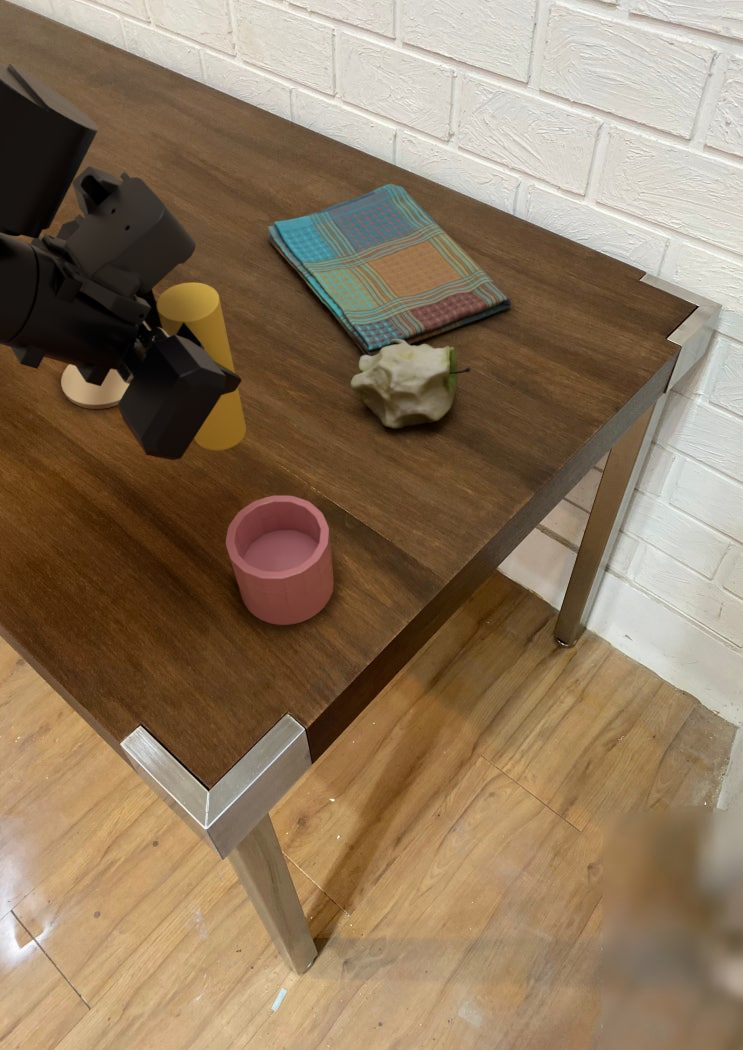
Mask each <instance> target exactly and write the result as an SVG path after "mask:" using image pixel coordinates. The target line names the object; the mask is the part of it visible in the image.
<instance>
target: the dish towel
mask: <svg viewBox="0 0 743 1050" xmlns="http://www.w3.org/2000/svg"><path fill="white" fill-rule="evenodd" d="M267 230H268V232H267V233H266V236H267V239H268V242H270V243H271V245H272V246H273V247H274V248H275V249H276V251H277V252H278V253H279V254H280V255H281V256H282V257H283V258H284V259H285V261H287V263H288V264H289V265H290V266H291V268H293V269H294V270H295V271H296V272H297V273H298V275H299V276H300V277H301V278H302V279H303V280H304V282H305V283H306V285H307V286H308V287H309V288H310V289H311V290H312V292H313V293H314V294H315V295H316V296H317V298H318V299H319V300H320V301H321V303H322V304H324V305H325V306H326V308H327V309H328V311H330V312H331V313H332V315H333V317H335V319H336V320H337V321H338V323H339V324H340V326H341V327H342V328H343V329H344V330H345V332H346V333H347V334H348V336H349V337H350V338H351V339H352V341H353V342H354V343H355V345H356V346H357V347H358V348H359V350H361V352H362V353H363V355H369V356H375V355H377V354H378V353H379V352H380V350H381V349H382V348H383V347H386V346H390V345H397V344H398V343H396V342H392V341H391V340H393V339H401V340H404V341H405V342H406V343H407V344H408V345H410V346H411V345H412V344H415V343H417V342H421V341H422V340H426V339H429V338H431V337H434V336H436V335H439V334H441V333H444V332H448V331H450V330H453V329H456V328H458V327H461V326H464V325H467V324H470V323H473V322H475V321H478V320H479V321H480V320H481V319H483V318H486V317H489V316H491V315H495V314H497V313H499V312H503V311H505V310H507V309H509V308H511V307H512V301H511V298H510V297H509V296H508V295H507V294H506V293H505V292H504V291H503V290H502V289H501V288H500V287H499V286H498V285H497V284H496V283H495V281H494V280H493V279H492V278H491V277H490V276H489V275H488V274H487V273H486V271H485V270H484V269H483V268H482V267H481V266H479V264H478V263H477V262H475V261H474V259H473V258H472V257H471V256H470V255H469V254H468V253H467V252H466V251H465V250H464V249H463V248H462V247H461V246H460V245H459V244H458V242H456V241H455V240H454V239H453V238H452V237H451V236H450V234H448V233H447V232H446V231H445V230H444V229H442V227H441V226H440V225H439V224H438V223H437V222H436V221H435V220H434V219H433V217H431V216H430V215H429V214H428V213H427V212H426V211H425V210H424V209H423V208H422V207H421V205H420V204H419V203H418V202H417V201H416V199H414V198H413V197H412V196H411V194H410V193H408V192H407V190H406V189H405V188H404V187H403V186H398V185H396V184H394V183H388V184H386V185H382V186H380V187H378V188H376V189H374V190H372V191H369V192H367V193H364V194H362V195H359V196H357V197H354V198H350V199H348V200H345V201H342V202H340V203H337V204H334V205H332V206H329V207H326V208H325V209H321V210H320V211H317V212H313V213H309V214H306V215H303V216H300V217H296V218H291V219H285V220H280V221H279V220H277V221H274V223H273V225H269V226H267Z"/></svg>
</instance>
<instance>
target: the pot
mask: <svg viewBox="0 0 743 1050" xmlns="http://www.w3.org/2000/svg"><path fill="white" fill-rule="evenodd" d="M330 533H331V532H330V526H329V525H328V523H327V519H326V518H325V515H324V513H323V511H321V510H320V509H318V508H317V506H315V505H314V504H313V503H311V502H310V501H308V500H306V499H303V498H301V497H298V496H295V495H270V496H266V497H263V498H260V499H256V500H254V501H252V502H250V503H249V504H248V505H246V506H245V507H243V508H242V509H240V510H239V511H238V512H237V514H236V515H235V517H234V518H233V519H232V521H231V522H230V524H229V525H228V527H227V532H226V537H225V547H226V550H227V554H228V557H229V559H230V564H231V567H232V570H233V573H234V576H235V579H236V583H237V585H238V589H239V593H240V596H241V599H242V602H243V604H244V606H245V607H246V609H247V610H248V611H249V612H250V613H251V614H252V615H253V616H254V617H256V618H257V619H259V620H261V621H263V622H265V623H267V624H272V625H277V626H289V625H295V624H299V623H303V622H305V621H308V620H310V619H311V618H313V617H315V616H316V615H318V614H319V613H320V612H321V611H322V610H323V609H324V608H325V607H326V605H327V604H328V603H329V601H330V599H331V597H332V595H333V592H334V586H335V578H334V569H333V551H332V544H331V543H332V542H331V534H330Z"/></svg>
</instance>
